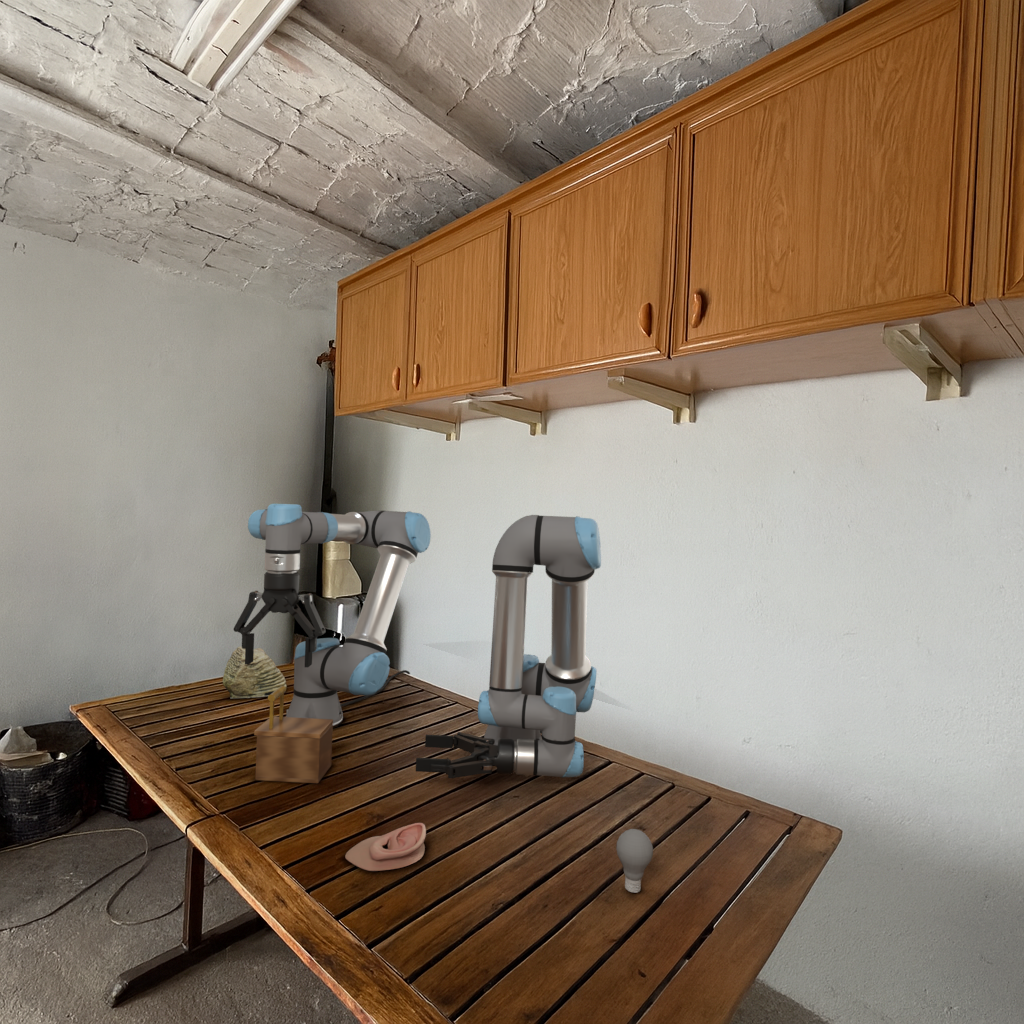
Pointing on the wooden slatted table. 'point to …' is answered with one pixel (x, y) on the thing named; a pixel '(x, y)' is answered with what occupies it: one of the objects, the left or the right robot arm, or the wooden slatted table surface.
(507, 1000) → the wooden slatted table surface
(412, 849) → the anatomical model
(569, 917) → the wooden slatted table surface
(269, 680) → the fossil
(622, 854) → the light bulb
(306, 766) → the chest
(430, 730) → the wooden slatted table surface
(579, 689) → the right robot arm
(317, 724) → the panel with bar handle
